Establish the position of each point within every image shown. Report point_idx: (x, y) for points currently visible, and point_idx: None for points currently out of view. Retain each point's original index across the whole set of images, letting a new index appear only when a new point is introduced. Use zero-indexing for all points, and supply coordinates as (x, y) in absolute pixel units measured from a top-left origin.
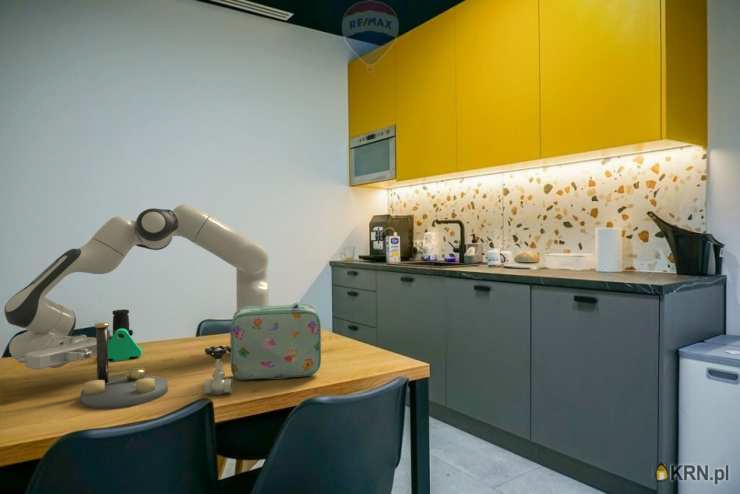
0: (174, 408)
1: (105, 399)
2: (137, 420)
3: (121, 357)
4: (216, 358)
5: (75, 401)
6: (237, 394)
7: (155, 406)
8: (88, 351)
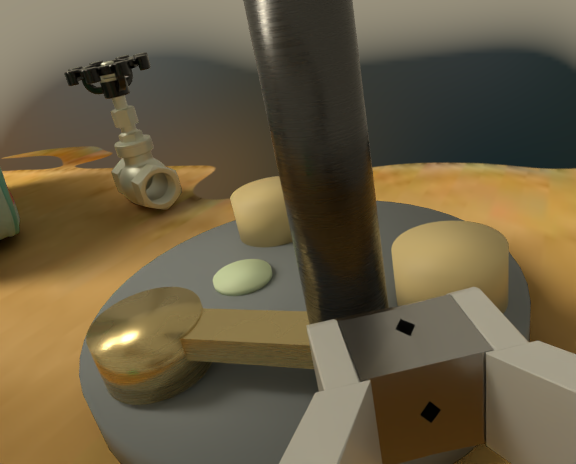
0: None
1: (438, 216)
2: (401, 166)
3: None
4: (129, 90)
5: None
6: None
7: None
8: (342, 335)
